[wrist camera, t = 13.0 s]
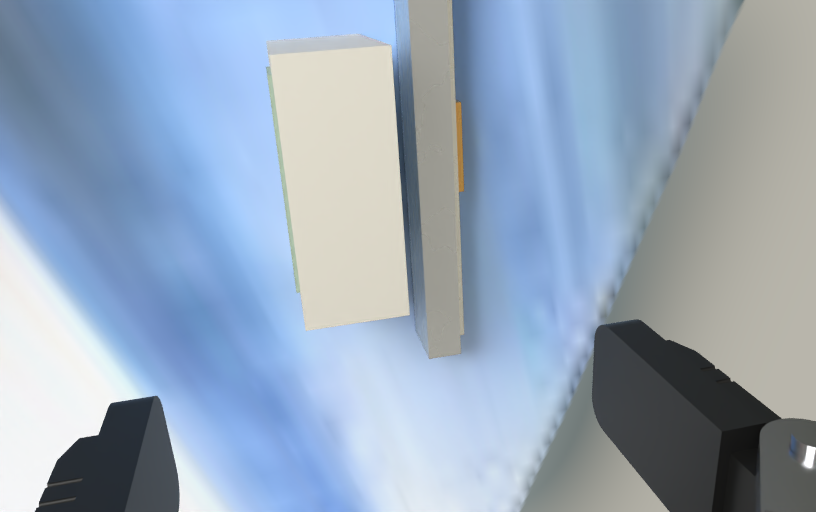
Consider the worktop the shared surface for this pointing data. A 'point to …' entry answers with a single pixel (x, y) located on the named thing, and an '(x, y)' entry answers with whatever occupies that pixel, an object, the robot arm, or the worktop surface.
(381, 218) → the product carton
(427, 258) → the rail
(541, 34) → the worktop surface
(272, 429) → the worktop surface
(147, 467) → the robot arm
